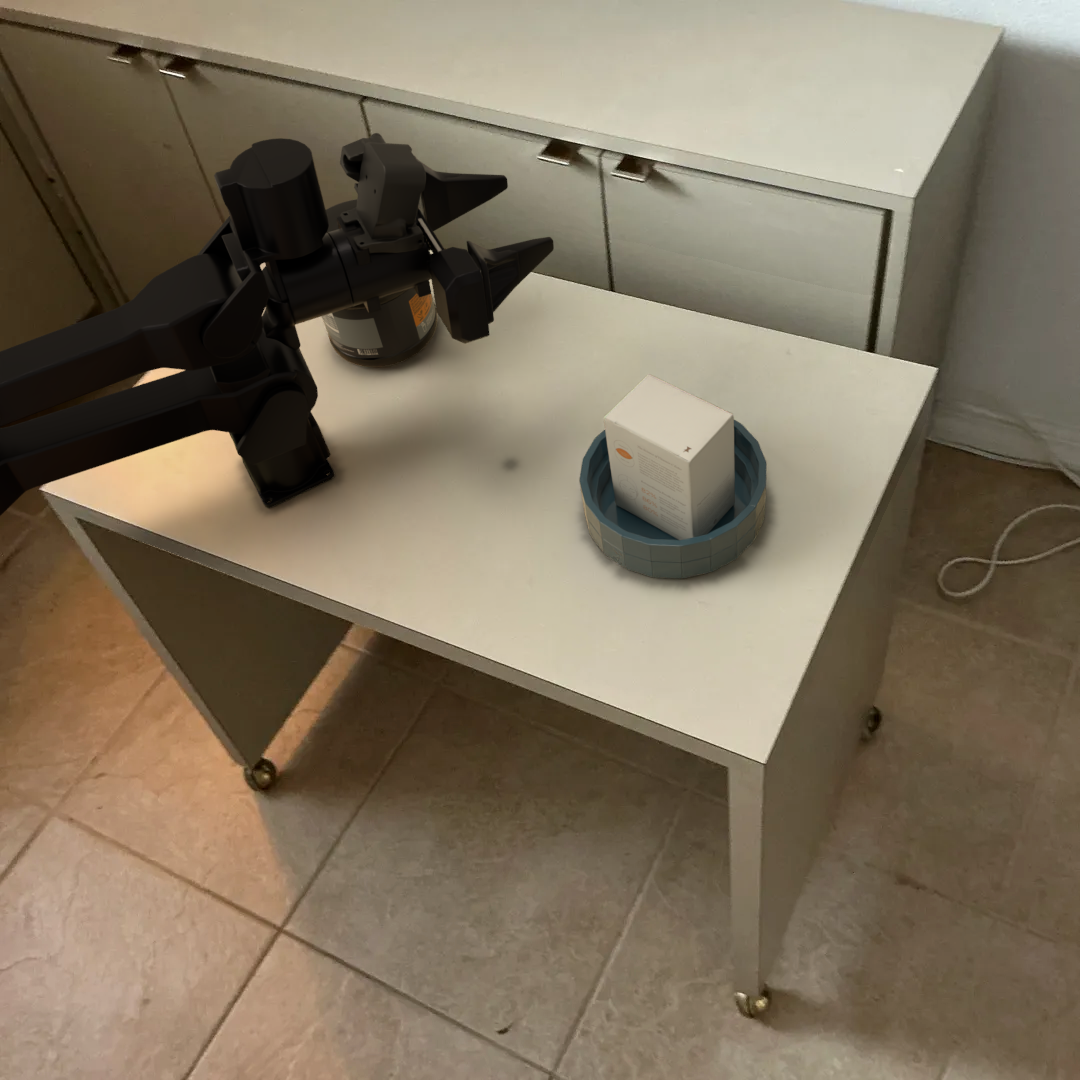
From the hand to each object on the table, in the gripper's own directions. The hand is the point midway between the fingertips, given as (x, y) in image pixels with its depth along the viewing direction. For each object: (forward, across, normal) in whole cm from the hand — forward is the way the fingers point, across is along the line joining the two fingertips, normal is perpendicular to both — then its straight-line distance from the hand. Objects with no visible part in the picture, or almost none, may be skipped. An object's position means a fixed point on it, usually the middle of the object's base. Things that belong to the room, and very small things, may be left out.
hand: (529, 211), depth 88 cm
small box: (+3, -20, +16) cm, 26 cm away
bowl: (+3, -20, +16) cm, 26 cm away
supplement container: (-11, +12, +18) cm, 24 cm away
